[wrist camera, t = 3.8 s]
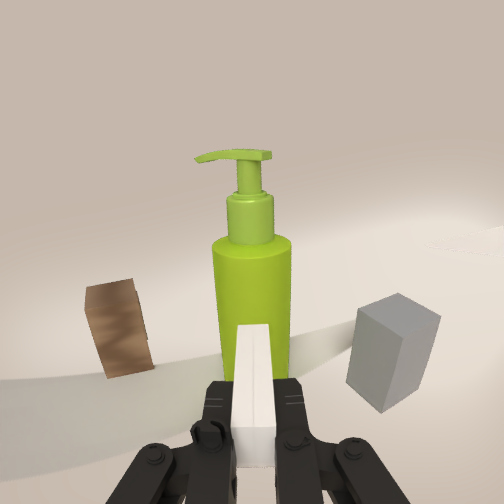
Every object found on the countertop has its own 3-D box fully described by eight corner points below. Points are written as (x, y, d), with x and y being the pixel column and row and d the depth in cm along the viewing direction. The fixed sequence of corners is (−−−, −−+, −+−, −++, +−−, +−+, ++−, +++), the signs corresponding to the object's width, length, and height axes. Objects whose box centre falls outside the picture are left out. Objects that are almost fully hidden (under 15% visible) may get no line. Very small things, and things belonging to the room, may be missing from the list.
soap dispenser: (232, 350, 32) (219, 148, 26) (295, 365, 30) (300, 147, 23) (203, 384, 27) (176, 153, 21) (274, 405, 25) (273, 150, 18)
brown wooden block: (107, 378, 28) (84, 309, 25) (104, 351, 32) (86, 287, 29) (155, 368, 30) (139, 299, 27) (147, 342, 34) (133, 278, 31)
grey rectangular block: (380, 413, 23) (403, 338, 20) (345, 382, 27) (357, 308, 24) (418, 388, 25) (442, 315, 22) (384, 362, 29) (399, 292, 26)
